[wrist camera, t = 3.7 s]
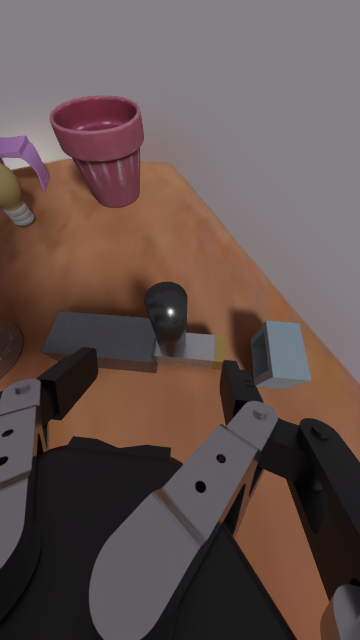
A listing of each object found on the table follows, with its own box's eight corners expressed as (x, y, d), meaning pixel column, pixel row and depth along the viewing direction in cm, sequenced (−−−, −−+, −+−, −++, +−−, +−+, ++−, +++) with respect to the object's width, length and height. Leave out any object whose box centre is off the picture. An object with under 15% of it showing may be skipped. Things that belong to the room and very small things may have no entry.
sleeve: (66, 364, 25) (40, 352, 20) (79, 329, 27) (58, 311, 23) (156, 373, 24) (150, 362, 20) (161, 335, 26) (157, 318, 22)
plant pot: (161, 205, 40) (152, 119, 28) (92, 224, 37) (52, 137, 26) (140, 171, 46) (126, 89, 34) (80, 185, 44) (44, 102, 32)
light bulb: (1, 227, 37) (-56, 166, 28) (26, 208, 40) (-19, 147, 31) (26, 236, 36) (-26, 176, 27) (50, 216, 39) (10, 155, 30)
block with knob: (72, 355, 24) (-15, 304, 14) (80, 333, 26) (8, 270, 15) (220, 369, 23) (253, 325, 13) (220, 344, 25) (250, 286, 14)
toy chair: (46, 195, 42) (-17, 90, 29) (4, 199, 42) (-80, 94, 28) (52, 174, 46) (-1, 73, 33) (14, 177, 45) (-57, 76, 32)
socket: (254, 386, 23) (273, 377, 18) (250, 339, 26) (266, 320, 21) (284, 389, 23) (311, 380, 18) (277, 341, 26) (299, 323, 21)
